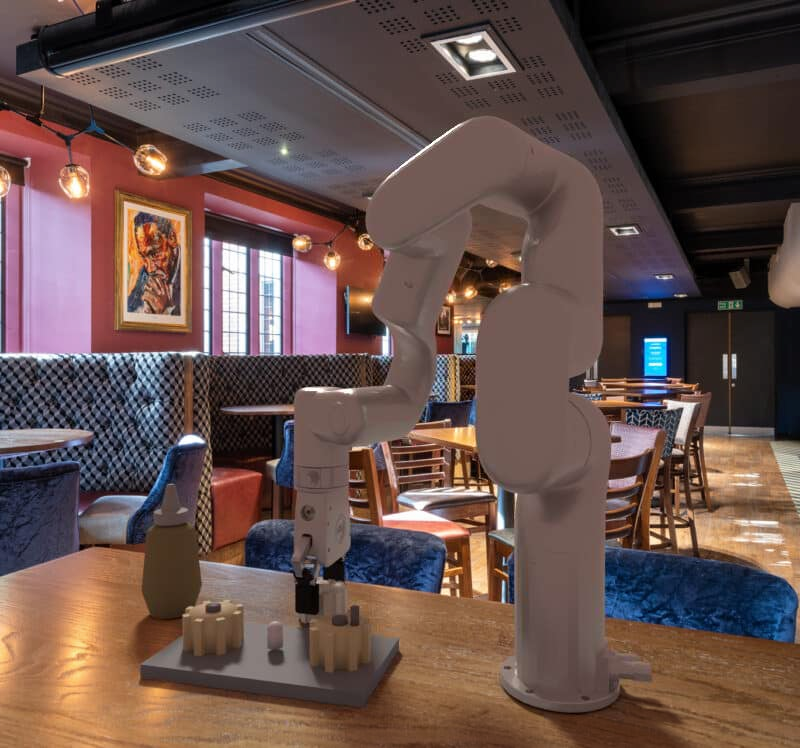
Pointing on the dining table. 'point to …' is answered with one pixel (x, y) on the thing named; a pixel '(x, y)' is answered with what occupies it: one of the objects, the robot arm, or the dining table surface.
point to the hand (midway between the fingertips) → (321, 600)
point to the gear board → (276, 655)
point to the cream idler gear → (329, 599)
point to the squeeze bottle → (171, 561)
